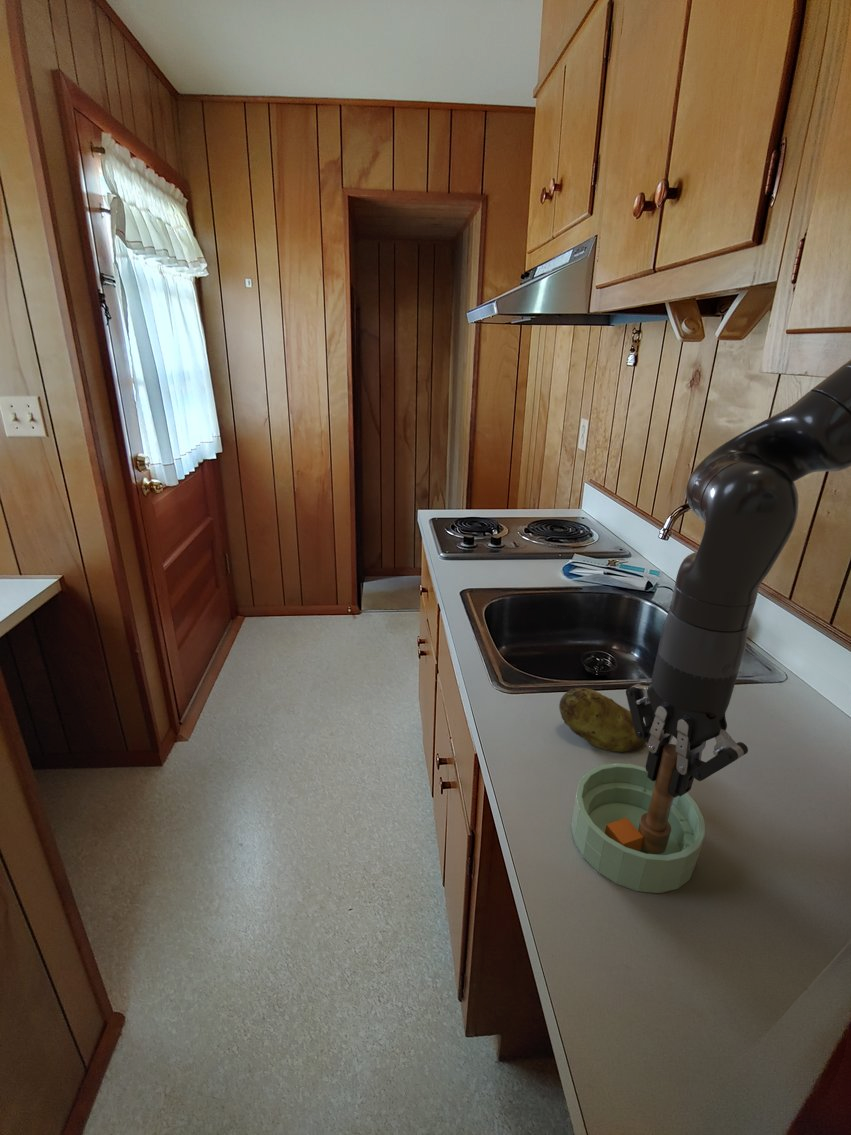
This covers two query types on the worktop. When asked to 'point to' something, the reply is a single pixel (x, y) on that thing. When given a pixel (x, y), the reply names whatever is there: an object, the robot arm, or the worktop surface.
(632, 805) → the bowl
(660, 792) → the wooden flanged peg
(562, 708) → the potato
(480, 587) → the worktop surface
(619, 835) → the carrot cube
